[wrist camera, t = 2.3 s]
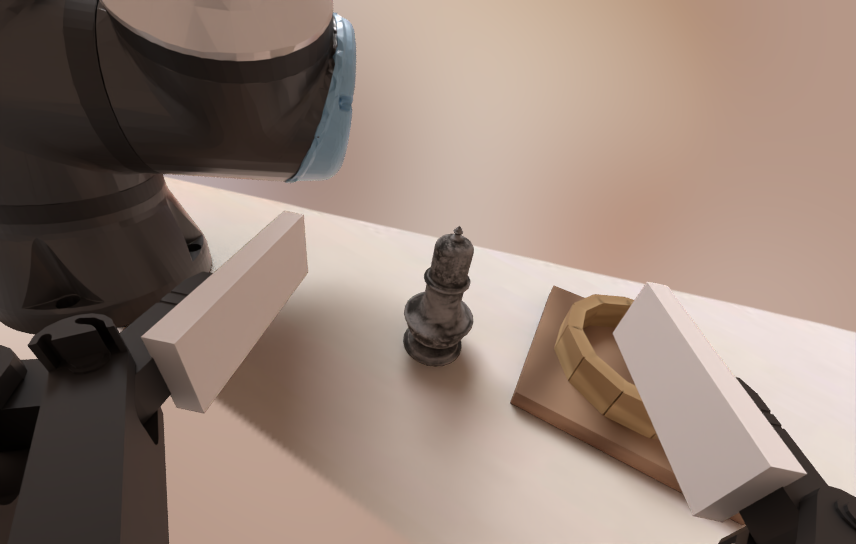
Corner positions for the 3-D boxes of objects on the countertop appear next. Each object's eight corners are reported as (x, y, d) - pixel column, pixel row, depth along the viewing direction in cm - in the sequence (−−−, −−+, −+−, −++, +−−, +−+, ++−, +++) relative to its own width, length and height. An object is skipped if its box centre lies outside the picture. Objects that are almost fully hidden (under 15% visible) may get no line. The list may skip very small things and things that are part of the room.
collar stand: (510, 402, 27) (528, 367, 24) (548, 295, 39) (564, 264, 36) (742, 525, 22) (797, 498, 19) (704, 360, 34) (735, 329, 31)
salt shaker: (475, 361, 29) (517, 247, 22) (411, 375, 27) (435, 253, 20) (449, 314, 34) (477, 205, 27) (392, 323, 32) (406, 207, 24)
